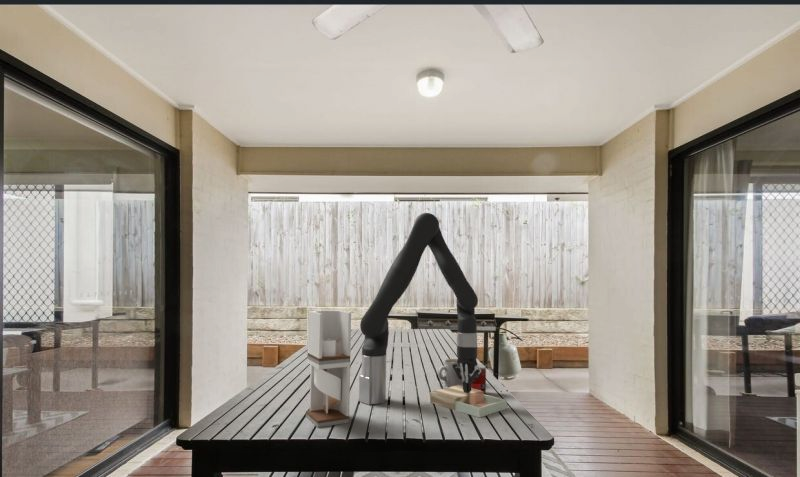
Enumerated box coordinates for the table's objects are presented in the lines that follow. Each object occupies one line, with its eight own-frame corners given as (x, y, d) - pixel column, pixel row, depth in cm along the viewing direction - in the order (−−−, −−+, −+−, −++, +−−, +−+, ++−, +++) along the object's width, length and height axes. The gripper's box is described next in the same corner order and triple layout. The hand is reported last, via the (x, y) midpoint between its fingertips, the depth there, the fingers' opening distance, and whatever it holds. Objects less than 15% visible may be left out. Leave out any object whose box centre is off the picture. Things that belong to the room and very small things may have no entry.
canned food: (485, 397, 181) (485, 368, 182) (465, 395, 182) (465, 367, 183) (486, 392, 188) (486, 364, 189) (466, 390, 190) (466, 363, 191)
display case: (306, 417, 154) (308, 311, 156) (336, 412, 159) (338, 310, 161) (317, 427, 144) (320, 314, 146) (349, 422, 149) (351, 312, 151)
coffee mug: (463, 381, 206) (463, 358, 207) (470, 387, 196) (470, 363, 197) (434, 382, 204) (434, 359, 204) (440, 388, 194) (440, 363, 194)
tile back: (469, 408, 166) (475, 409, 164) (469, 394, 166) (475, 395, 164) (478, 405, 169) (484, 407, 167) (477, 391, 170) (483, 392, 168)
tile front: (476, 404, 164) (476, 411, 163) (487, 407, 160) (487, 414, 160) (484, 401, 167) (484, 408, 167) (496, 404, 163) (496, 411, 163)
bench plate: (454, 410, 163) (454, 398, 164) (430, 402, 172) (430, 391, 172) (482, 401, 174) (482, 391, 174) (458, 395, 183) (458, 384, 183)
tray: (479, 417, 155) (479, 408, 156) (455, 410, 163) (455, 401, 164) (506, 408, 166) (506, 400, 166) (482, 402, 174) (482, 393, 174)
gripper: (446, 343, 173) (446, 390, 172) (474, 348, 164) (474, 398, 162) (459, 341, 178) (459, 387, 177) (487, 345, 169) (488, 394, 168)
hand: (467, 392), depth 170 cm, fingers closed
